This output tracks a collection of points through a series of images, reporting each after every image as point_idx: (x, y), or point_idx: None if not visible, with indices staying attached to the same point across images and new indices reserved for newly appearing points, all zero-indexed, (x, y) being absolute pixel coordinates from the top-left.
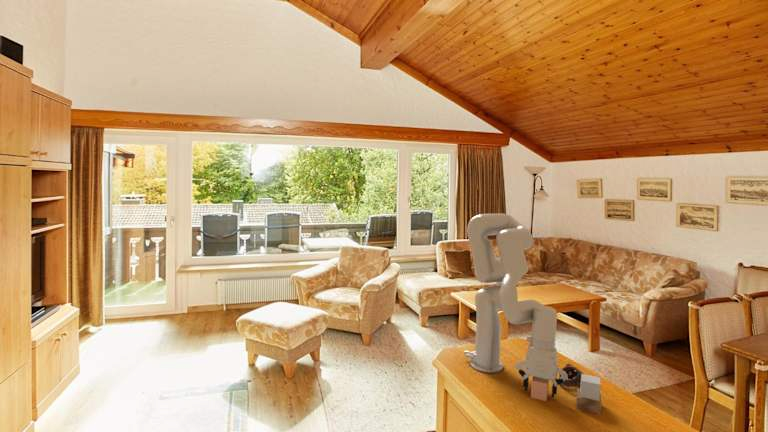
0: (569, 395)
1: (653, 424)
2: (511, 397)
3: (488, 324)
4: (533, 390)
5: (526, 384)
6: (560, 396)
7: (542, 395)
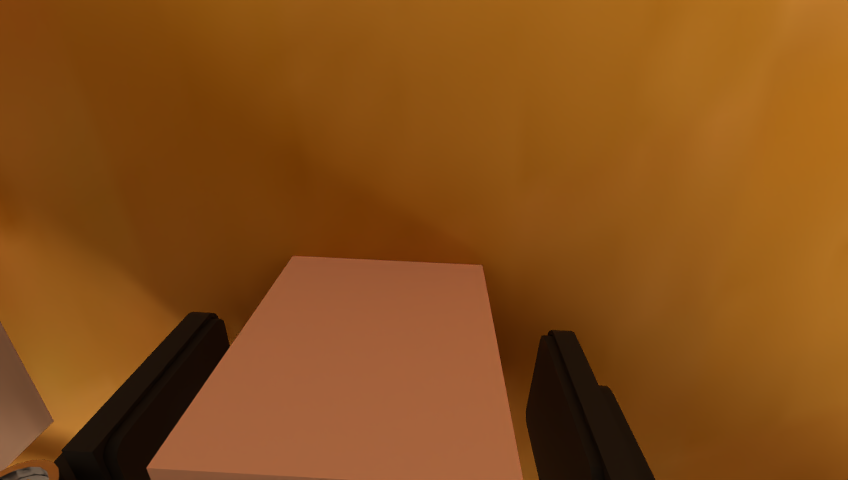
0: None
1: None
2: (756, 146)
3: None
4: (458, 327)
5: (586, 407)
6: None
7: (327, 293)
